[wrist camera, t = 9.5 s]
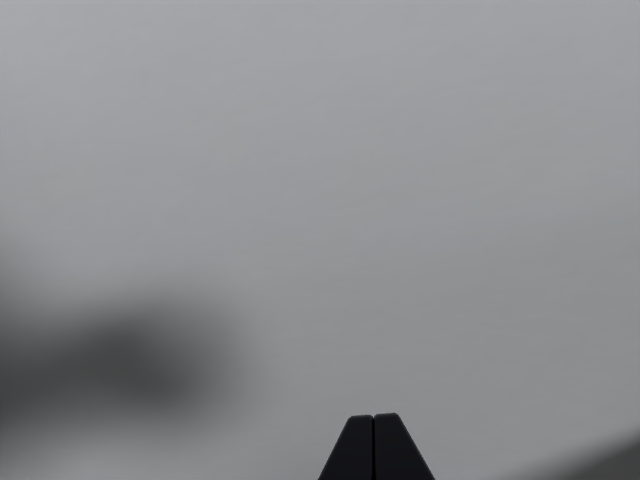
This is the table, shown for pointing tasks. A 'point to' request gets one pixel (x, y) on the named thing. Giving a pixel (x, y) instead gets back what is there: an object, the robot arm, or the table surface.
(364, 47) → the table surface
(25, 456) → the table surface
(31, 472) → the table surface
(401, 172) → the table surface
